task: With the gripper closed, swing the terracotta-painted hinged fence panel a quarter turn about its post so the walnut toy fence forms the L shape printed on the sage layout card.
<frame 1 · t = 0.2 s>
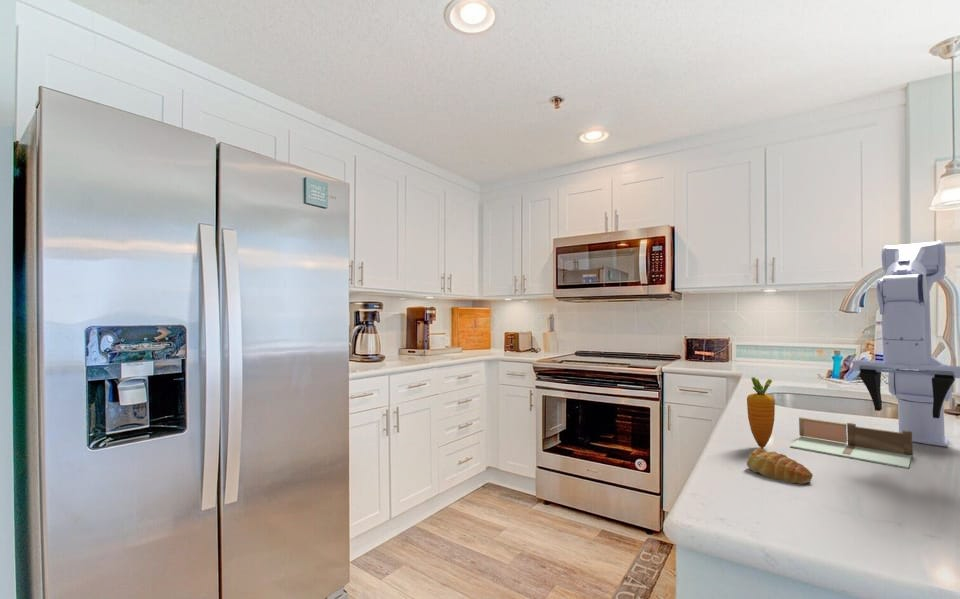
hand: (906, 413, 80), 10 cm above the counter, fingers open, 7 cm apart
fence fixed: (852, 446, 93), resting on layout card
hinged panel: (822, 429, 97), point 3 cm above the counter, hinge at 0.0°
layout card: (850, 449, 91), on the counter
carrot: (761, 449, 92), on the counter
pastry: (777, 476, 77), on the counter
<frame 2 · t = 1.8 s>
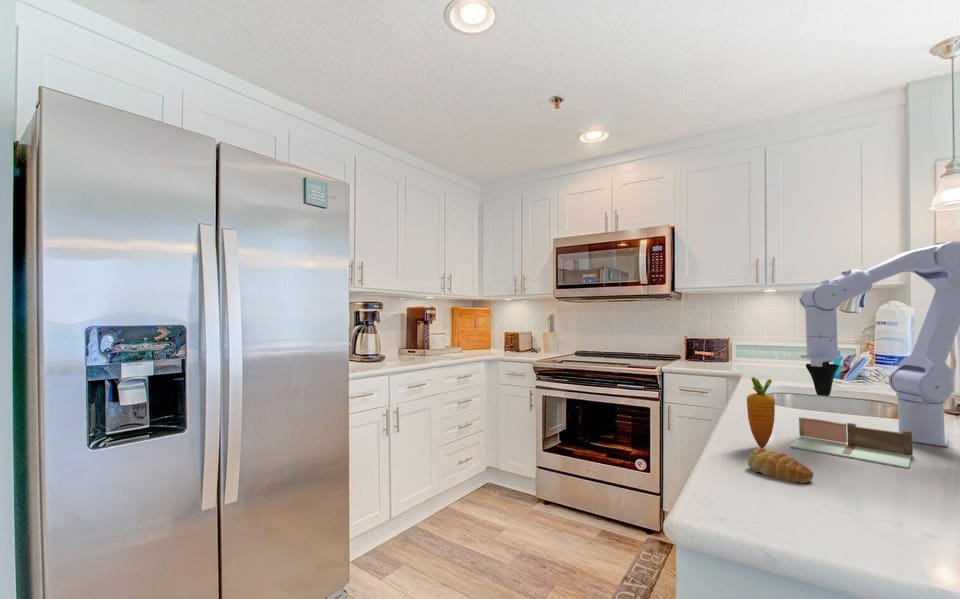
hand: (823, 395, 101), 9 cm above the counter, fingers closed
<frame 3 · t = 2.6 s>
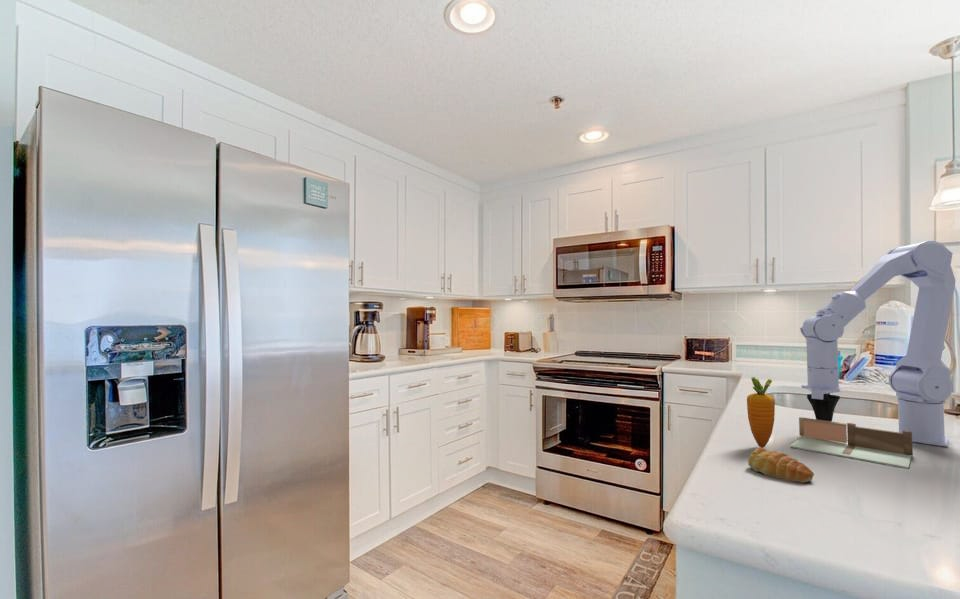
hand: (824, 426, 101), 2 cm above the counter, fingers closed
nothing on the counter moved.
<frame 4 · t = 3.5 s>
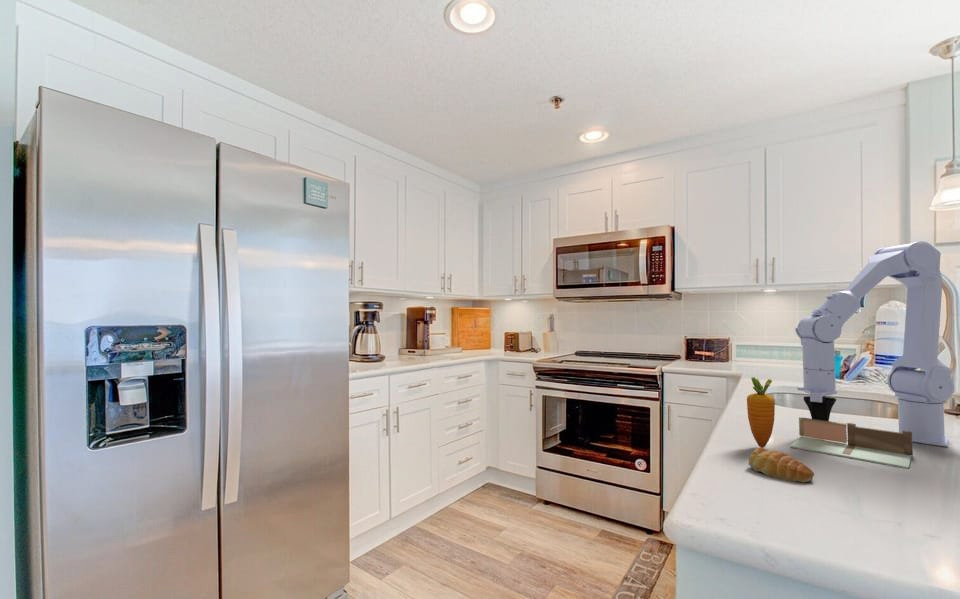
hand: (820, 429, 98), 2 cm above the counter, fingers closed, pressing on hinged panel
hinged panel: (822, 429, 97), point 3 cm above the counter, hinge at 0.4°, touching gripper
everything else where it was.
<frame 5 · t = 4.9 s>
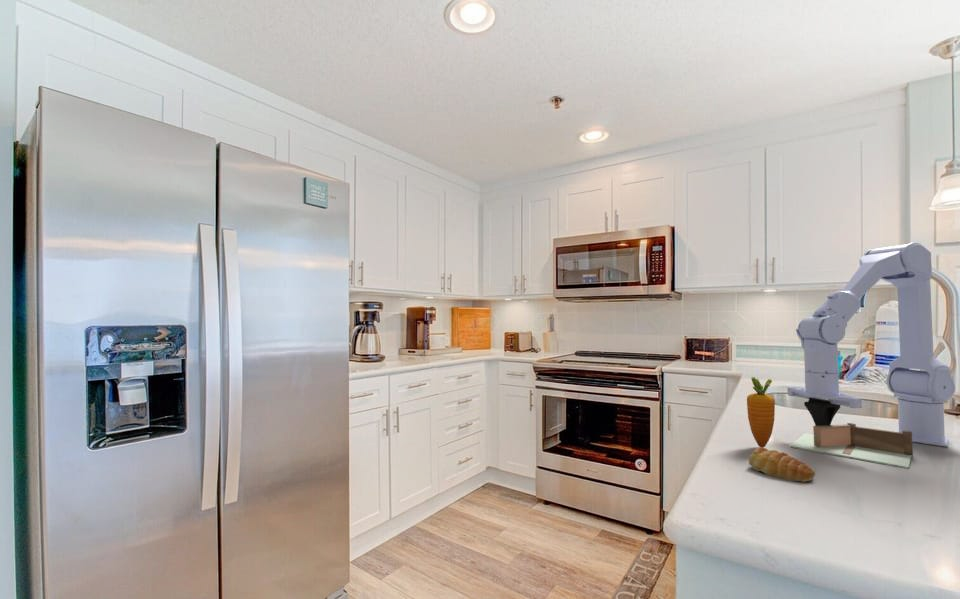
hand: (823, 435, 93), 2 cm above the counter, fingers closed, pressing on hinged panel
hinged panel: (831, 435, 92), point 3 cm above the counter, hinge at 56.3°, touching gripper
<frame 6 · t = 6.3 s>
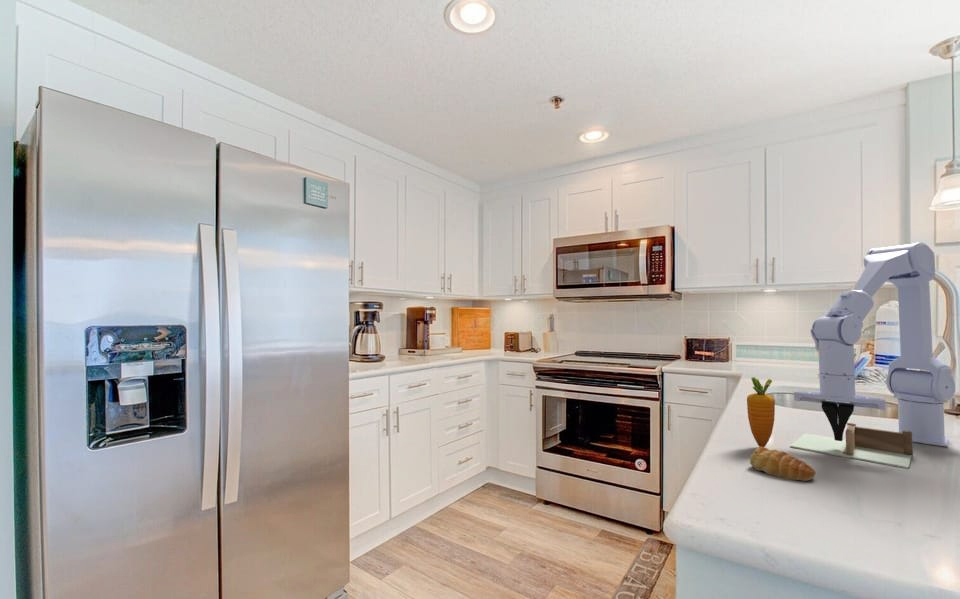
hand: (838, 439, 90), 2 cm above the counter, fingers closed
hinged panel: (850, 439, 89), point 3 cm above the counter, hinge at 94.2°, touching gripper
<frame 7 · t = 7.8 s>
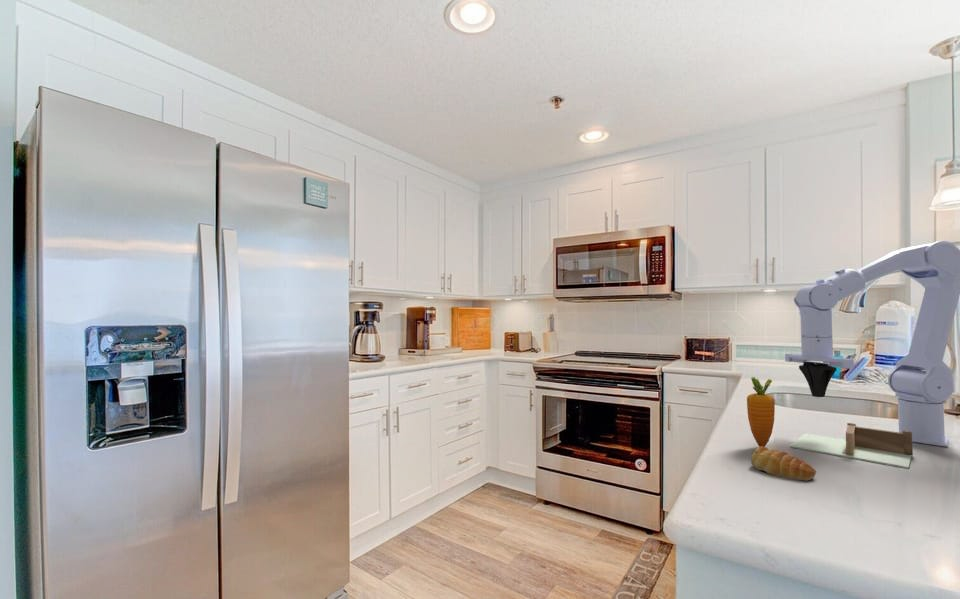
hand: (818, 396, 100), 9 cm above the counter, fingers closed
hinged panel: (850, 439, 89), point 3 cm above the counter, hinge at 94.3°
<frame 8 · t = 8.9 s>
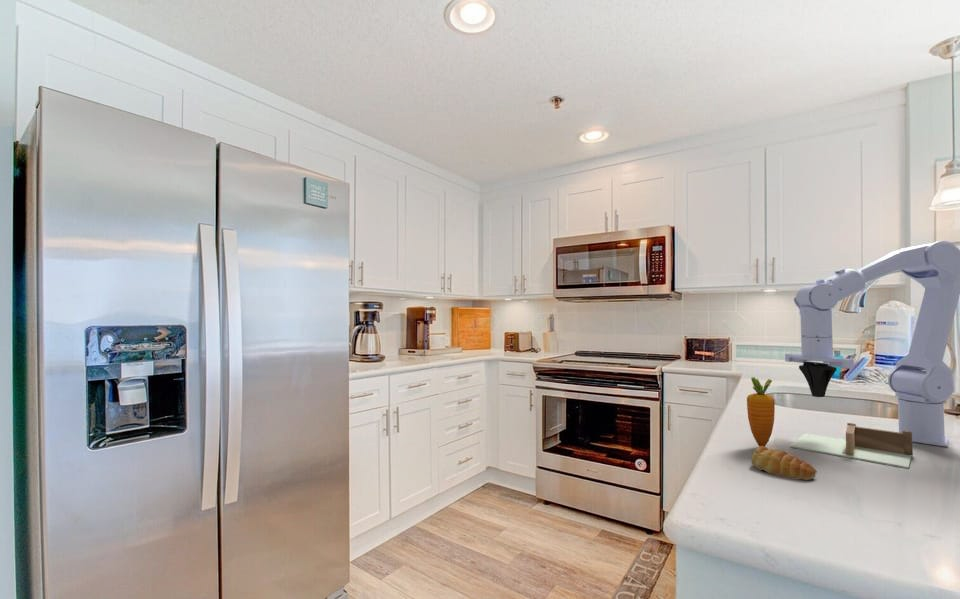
hand: (818, 396, 100), 9 cm above the counter, fingers closed
at the end: hinged panel at +94° (first picture: +0°); carrot moved 0.2 cm from its start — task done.
